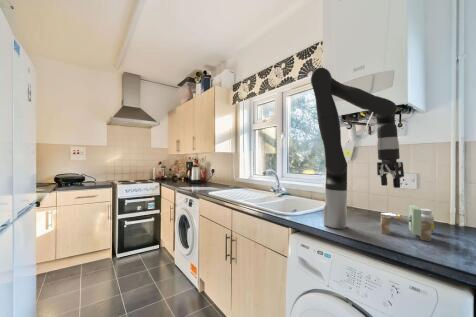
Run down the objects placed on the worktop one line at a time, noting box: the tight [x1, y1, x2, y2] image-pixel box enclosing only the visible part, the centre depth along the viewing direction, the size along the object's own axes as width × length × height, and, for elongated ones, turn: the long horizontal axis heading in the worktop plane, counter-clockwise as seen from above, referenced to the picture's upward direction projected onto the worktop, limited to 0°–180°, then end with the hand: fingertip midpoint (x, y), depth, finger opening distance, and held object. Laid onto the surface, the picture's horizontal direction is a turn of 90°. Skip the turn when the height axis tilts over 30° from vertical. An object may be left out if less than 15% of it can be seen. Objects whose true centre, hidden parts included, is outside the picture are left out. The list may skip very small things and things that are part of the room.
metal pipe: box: [380, 212, 430, 223], centre depth 89 cm, size 16×3×3 cm, turn 59°
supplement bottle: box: [420, 208, 435, 235], centre depth 94 cm, size 5×5×10 cm
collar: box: [408, 204, 422, 237], centre depth 88 cm, size 2×10×10 cm, turn 149°
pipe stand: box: [380, 215, 432, 242], centre depth 89 cm, size 16×6×7 cm, turn 59°
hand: (390, 186), depth 90 cm, fingers open, 8 cm apart
